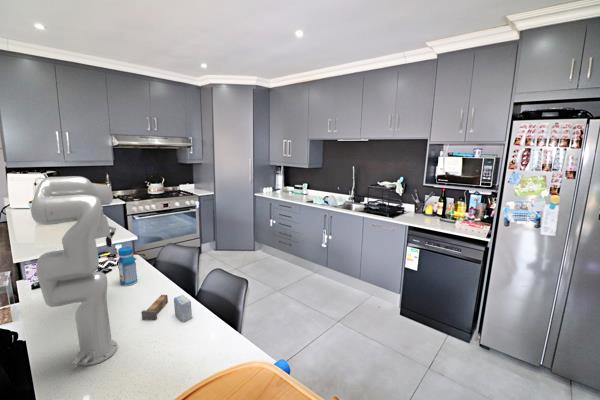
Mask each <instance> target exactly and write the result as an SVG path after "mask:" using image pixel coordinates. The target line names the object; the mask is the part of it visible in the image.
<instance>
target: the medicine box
mask: <svg viewBox="0 0 600 400" xmlns="http://www.w3.org/2000/svg"><path fill="white" fill-rule="evenodd" d="M173 304H174V316H176V317H177V318H178V319H179V320H180V321H181V322H183V323H184V322H187V321H188V320H190V319H192V318H193V315H192V314H193V313H192V311H193V310H192V301H191V299H189V298H188V297H187V296H185V295H184V294H181V295H178V296H175V297H174V298H173Z"/></svg>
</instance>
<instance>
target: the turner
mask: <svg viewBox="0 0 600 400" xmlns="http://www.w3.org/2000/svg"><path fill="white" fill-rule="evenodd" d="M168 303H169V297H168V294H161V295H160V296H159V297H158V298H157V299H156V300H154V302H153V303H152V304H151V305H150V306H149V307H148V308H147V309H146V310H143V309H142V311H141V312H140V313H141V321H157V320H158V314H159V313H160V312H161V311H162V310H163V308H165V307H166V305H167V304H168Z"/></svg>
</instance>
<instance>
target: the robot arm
mask: <svg viewBox="0 0 600 400" xmlns="http://www.w3.org/2000/svg"><path fill="white" fill-rule="evenodd" d="M113 200H114V194H113V191H112V189H111V187H110V186H109V185H106V184H101V183H100V184H99V183H95V182H91V181H90V179H88V178H86V177H84V176H81V175H79V176H78V175H77V176H76V175H73V176H72V175H70V176H49V177H45V178H43V179H41V181H40V182H39V184H38V185H37V187H36V191H35V193H34V197H33V199H32V202H31V206H30V212H31V213H30V214H31V218H32V219H33V220H34V221H35V222H36V223H37V224H41V225H51V224H63V223H70V222H76V223H74V224H73V225H72V226H71V227H69V229H68V230H67V231H66V233H65V234H64V235H63V237H62V238H61V244H62V249H60V250H54V251H48V252H45V253H43V254H41V255H40V256H39V257H38V258H37V261H36V264H35V265H36V269H35V270H36V276H37V280H38V284H39V287H40V290H41V294H42V297H43V300H44V303H45V304H46V305H47V306H48V307H51V308H57V307H62V306H68V305H73V304H79V303H80V304H79V305H78V307H77V309H76V311H75V314H74V317H75V323H76V332H77V338H78V344H79V350H78V351H77V354H76V355H75V359H74V360H73V361H72V362H71V363H70V367H71V368H73V369H74V368H77V366H78V365H80V366H93V365H97V364H100V363H101V362H104V361H106V360H107V359H109V358H111V357H112V356H113V355H114V354H115V353H116V351H117V349H118V343H117V341H116V340H114V339H112V332H111V324H110V323H111V322H110V316H109V308H108V307H109V306H108V278H107V275H106V273H104V272H102V271H97V270H98V269H99V266H100V263H99V262H100V261H99V260H100V259H99V254H98V247H97V241H96V240H98V239H102V238H105V244H106V246H107V247H108V248H111V247H112V244H113V243H112V242H113V241H112V239H113V237H114V235H116V230H117V228H116V227H114V226H113V227H112V226H109V225H110V224H109V222H108V218H107V215H106V214H104V211H103V210H104V209H103V206H107V205H111V204H112V203H113ZM110 230H111V231H110Z"/></svg>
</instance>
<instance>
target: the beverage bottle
mask: <svg viewBox="0 0 600 400" xmlns="http://www.w3.org/2000/svg"><path fill="white" fill-rule="evenodd" d="M117 252H118V254H117V255H118V256H119V258H118V260H117V263H118V265H117V267H118V274H119V283H120V285H121V286H123V287H128V286H131V285H132V286H133V285H135V284H136V283H137V282H138V275H137V262H136V257H135V256H134V255H133V254H134V249H133V247H132V246H124V247H123V246H122V247H120V248H118V249H117Z"/></svg>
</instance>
